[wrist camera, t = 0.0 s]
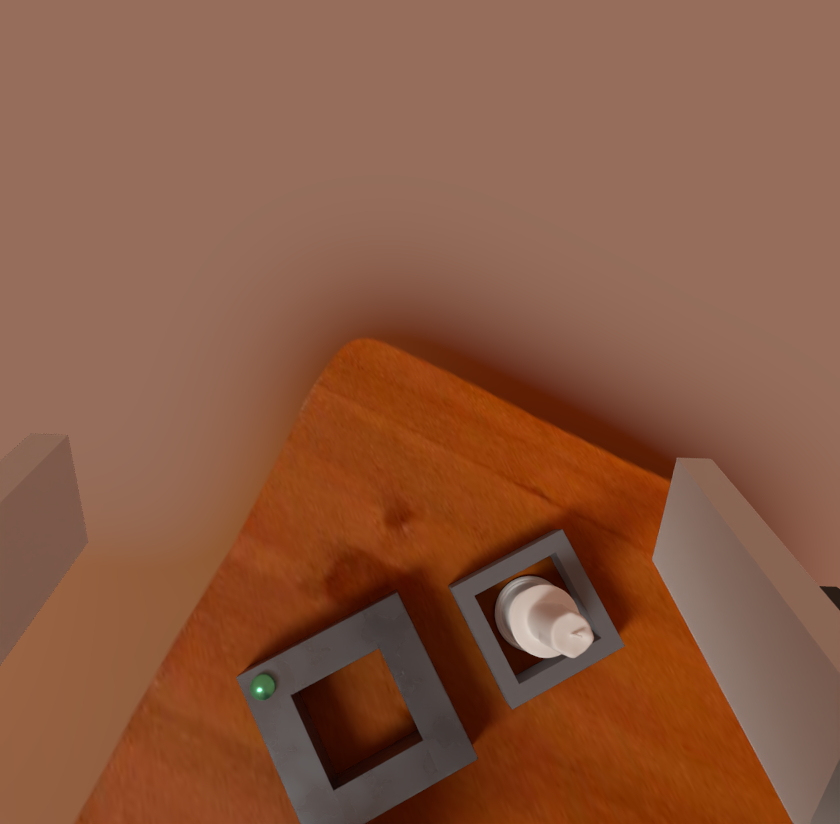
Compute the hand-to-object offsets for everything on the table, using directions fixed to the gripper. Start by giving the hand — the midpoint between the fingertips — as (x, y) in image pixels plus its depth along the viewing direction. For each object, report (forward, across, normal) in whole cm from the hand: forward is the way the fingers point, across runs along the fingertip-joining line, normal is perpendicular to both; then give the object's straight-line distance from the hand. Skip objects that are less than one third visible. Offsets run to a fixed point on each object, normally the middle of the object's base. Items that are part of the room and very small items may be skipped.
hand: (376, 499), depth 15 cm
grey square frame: (+26, -11, +26) cm, 38 cm away
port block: (+22, +1, +31) cm, 38 cm away
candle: (+26, -11, +26) cm, 38 cm away
